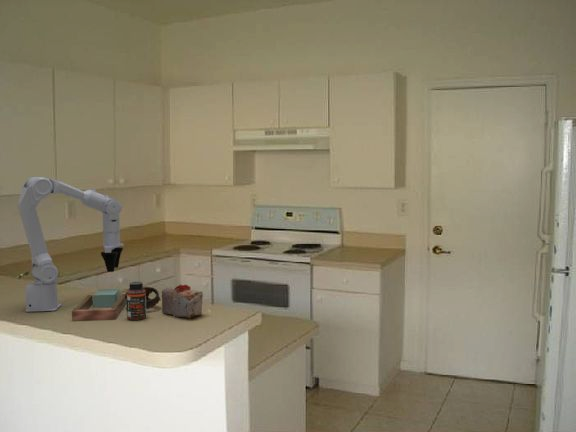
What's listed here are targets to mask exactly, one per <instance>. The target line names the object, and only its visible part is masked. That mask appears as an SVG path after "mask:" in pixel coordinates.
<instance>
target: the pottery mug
mask: <svg viewBox="0 0 576 432" xmlns="http://www.w3.org/2000/svg"><path fill="white" fill-rule="evenodd" d="M143 289H145V290H146V310H148V309H150V308H153V307H155V306H157V305H158V304H159V302H160V301H161V302H162V298H161V297H160V293H159V291H158V290H157V289H156V288H155V287H151V286H143ZM126 293H127V291H125V293H124V294H125V298H126V300H127V297H126ZM152 293H154V294H155V297H153V298H150V294H152Z"/></svg>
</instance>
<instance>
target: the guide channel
mask: <svg viewBox="0 0 576 432" xmlns="http://www.w3.org/2000/svg"><path fill="white" fill-rule="evenodd" d="M125 294H126V293H122V294H120V298H119V299H118V300H117V302H116V303H115V304H114V305H113V307H110V308H95V309H94V308H93V309H90V307H92V306H93V305H94V300H93V295H94V294H93V295H92V294H91V295H89V294H88V295H87V296H86V297H85V298H84V299H82V301H81V302H80V303H78V305H76V307H74V309H72V311H71V321H72V322H77V321H106V320H116V319H117V318H118V316H119V314H121V311H122V310H123V309H124V308H125V306H127V300H126V298H125ZM87 309H88V310H87Z"/></svg>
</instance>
